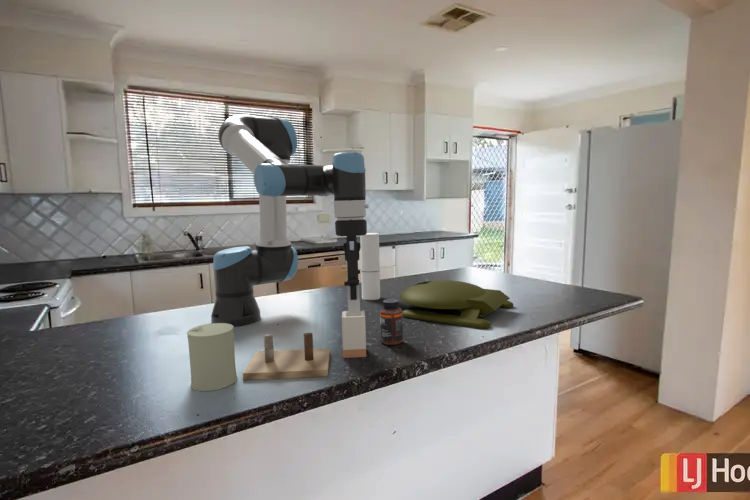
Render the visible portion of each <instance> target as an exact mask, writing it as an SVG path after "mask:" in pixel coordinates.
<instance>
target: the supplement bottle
mask: <svg viewBox="0 0 750 500" xmlns="http://www.w3.org/2000/svg"><path fill="white" fill-rule="evenodd" d="M382 303H383V304H382V305H383V307H382V308H380V310H379V322H380V323H379V324H380V341H381V342H380V343H382V344H384V345H387V346H395V345H400V344H402V342H404V325H403V321H404V320H403V315H402V312H403V310H402V308H401V307H399V300H398V299H395V298H387V299H383V302H382Z"/></svg>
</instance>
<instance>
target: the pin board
mask: <svg viewBox="0 0 750 500" xmlns="http://www.w3.org/2000/svg"><path fill="white" fill-rule="evenodd" d="M313 337H314V335H313V332H305V333H303V347H304V348H303V349H285V350H275V349H274V335H273V334H271V333H268V334H265V335H263V340H264V341H263V345H264V350H262V351H260V350H257V351H256V352H255V353H254V355H253V356H252V358H251V360H250V361H249V363H248V364H247V365H246V367H245V369H244V371H243V372H242V380H243V381H252V380H254V381H255V380H273V379H275V380H276V379H277V380H278V379H297V378H317V377H318V378H320V377H322V378H323V377H328V375H329V367H330V359H331V348H314V339H313Z"/></svg>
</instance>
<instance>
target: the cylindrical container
mask: <svg viewBox="0 0 750 500" xmlns="http://www.w3.org/2000/svg"><path fill="white" fill-rule="evenodd" d="M359 242H360V276H361V279H360V280H361V299H362V300H364V301H375V300H379V299H381V274H380V273H381V272H380V271H381V267H380V266H381V265H380V260H381V259H380V233H378V232H367V234H366V235H361V236H360V239H359Z"/></svg>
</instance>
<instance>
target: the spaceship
mask: <svg viewBox="0 0 750 500" xmlns="http://www.w3.org/2000/svg"><path fill="white" fill-rule="evenodd" d="M399 299H400V300H401V302H403V303H405V304H407V305H410V306H415V307H419V308H424V309H425V308H426V309H434V310H435V309H437V310H457V311H458V312H459V313H460V315H454V314H447V313H446V314H445V313H440V312H433V311H427V310H426V311H424V310H418V309H411V308H410V309H409V308H408V309H405V310H402V317H404V318H407V319H413V320H421V321H425V322H426V321H428V322H432V323H433V322H434V323H441V324H448V325H453V326H459V325H460V327H466V328H472V327H473V329H478V330H479V329H483V330H485V329H489V328H490V327H491V325H492V324H491V322H490V320H487V319H484V318H479V317H485V316H486V317H487V315H489V314H491V313H493V312H495V311H497V310H498V309H511V308H513V307H514V303H513V302H512V301H510V299H511V297H509V296H508V295H507V294H505V293H504V292H503V291H501V290H500V289H491V288H483V287H481V286H478V285H477V284H473V283H470V282H465V281H459V280H449V279H448V280H447V279H445V280H444V279H437V280H427V281H423V282H418V283H415V284H413V285H410V286H408V287H405V288H404V289H403V291H402V292H401V293H400V294H399ZM499 307H500V308H499Z"/></svg>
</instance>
